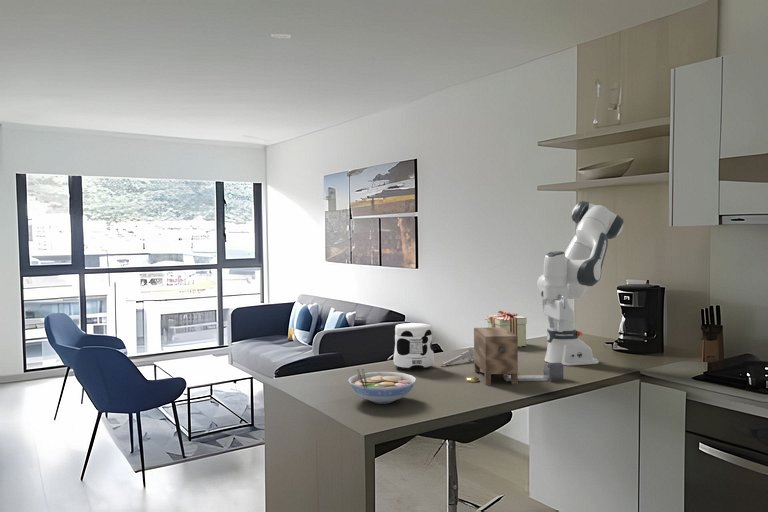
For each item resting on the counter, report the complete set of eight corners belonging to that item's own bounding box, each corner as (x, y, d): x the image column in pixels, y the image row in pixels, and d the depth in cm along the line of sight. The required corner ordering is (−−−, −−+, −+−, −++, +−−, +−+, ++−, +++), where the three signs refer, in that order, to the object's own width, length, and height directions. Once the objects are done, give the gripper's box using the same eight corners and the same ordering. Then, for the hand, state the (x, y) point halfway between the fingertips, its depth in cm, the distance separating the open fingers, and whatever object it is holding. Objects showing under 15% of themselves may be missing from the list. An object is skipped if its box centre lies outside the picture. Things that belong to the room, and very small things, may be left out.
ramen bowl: (421, 410, 183) (421, 384, 183) (349, 413, 182) (348, 387, 181) (411, 390, 208) (411, 367, 208) (347, 392, 206) (347, 369, 206)
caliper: (472, 360, 261) (471, 346, 261) (473, 361, 260) (473, 347, 260) (440, 367, 248) (440, 352, 248) (442, 367, 247) (441, 352, 247)
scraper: (559, 376, 228) (559, 361, 228) (565, 381, 219) (565, 366, 219) (502, 376, 229) (502, 361, 228) (506, 382, 220) (506, 366, 219)
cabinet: (503, 371, 238) (503, 327, 237) (518, 385, 215) (518, 336, 214) (474, 371, 237) (473, 327, 237) (486, 385, 214) (486, 337, 214)
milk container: (412, 362, 258) (412, 321, 257) (442, 367, 245) (442, 325, 245) (384, 368, 246) (384, 325, 245) (414, 374, 233) (414, 330, 233)
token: (476, 379, 225) (476, 376, 225) (480, 382, 220) (480, 379, 220) (464, 379, 224) (464, 376, 224) (467, 383, 219) (467, 380, 219)
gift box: (480, 344, 300) (480, 311, 300) (511, 342, 307) (511, 309, 306) (498, 350, 284) (497, 315, 284) (530, 347, 291) (530, 313, 290)
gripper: (573, 296, 213) (573, 333, 213) (555, 291, 233) (555, 325, 234) (556, 296, 212) (556, 334, 213) (539, 291, 233) (539, 326, 233)
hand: (555, 329), depth 223 cm, fingers open, 8 cm apart
